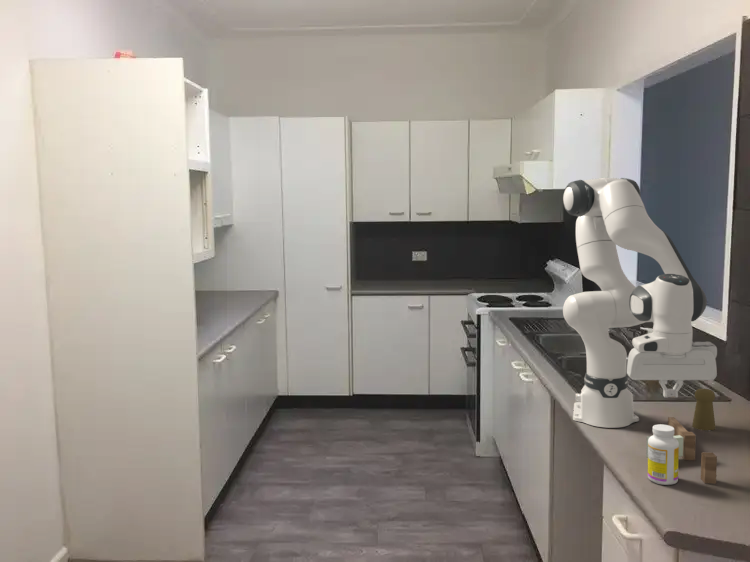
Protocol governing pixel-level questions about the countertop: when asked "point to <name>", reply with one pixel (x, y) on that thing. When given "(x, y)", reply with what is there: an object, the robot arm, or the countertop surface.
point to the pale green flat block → (680, 441)
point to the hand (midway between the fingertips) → (670, 396)
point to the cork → (704, 410)
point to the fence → (689, 452)
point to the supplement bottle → (663, 455)
